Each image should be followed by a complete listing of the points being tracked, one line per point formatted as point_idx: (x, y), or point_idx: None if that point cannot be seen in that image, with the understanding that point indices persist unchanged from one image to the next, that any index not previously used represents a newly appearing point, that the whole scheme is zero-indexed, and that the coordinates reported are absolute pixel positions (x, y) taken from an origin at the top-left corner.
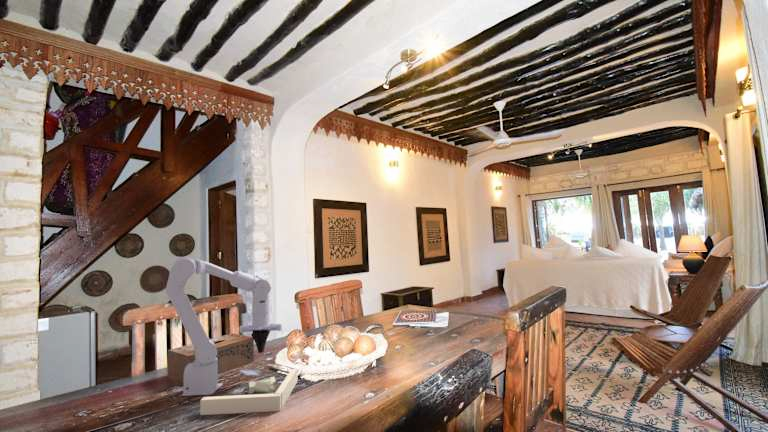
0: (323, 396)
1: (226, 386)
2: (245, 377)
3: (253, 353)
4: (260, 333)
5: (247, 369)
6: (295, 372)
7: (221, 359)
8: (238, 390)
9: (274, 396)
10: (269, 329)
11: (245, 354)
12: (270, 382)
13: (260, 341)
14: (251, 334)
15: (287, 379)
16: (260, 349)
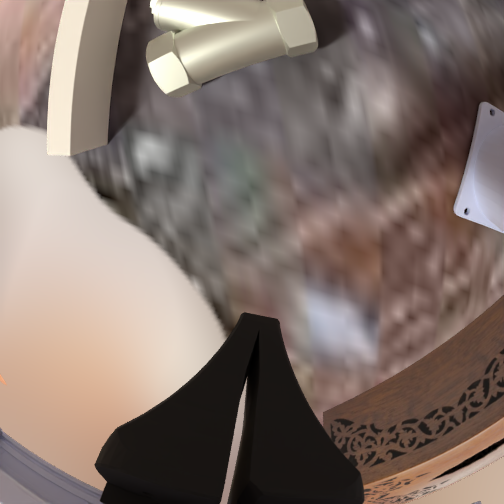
0: (18, 7)
1: (436, 182)
2: (356, 271)
3: None
4: (186, 490)
5: (348, 358)
6: (50, 108)
7: (460, 385)
8: (372, 96)
9: None
10: (86, 499)
11: (357, 430)
12: (174, 32)
13: (231, 392)
14: (364, 497)
15: (75, 5)
16: (251, 330)
